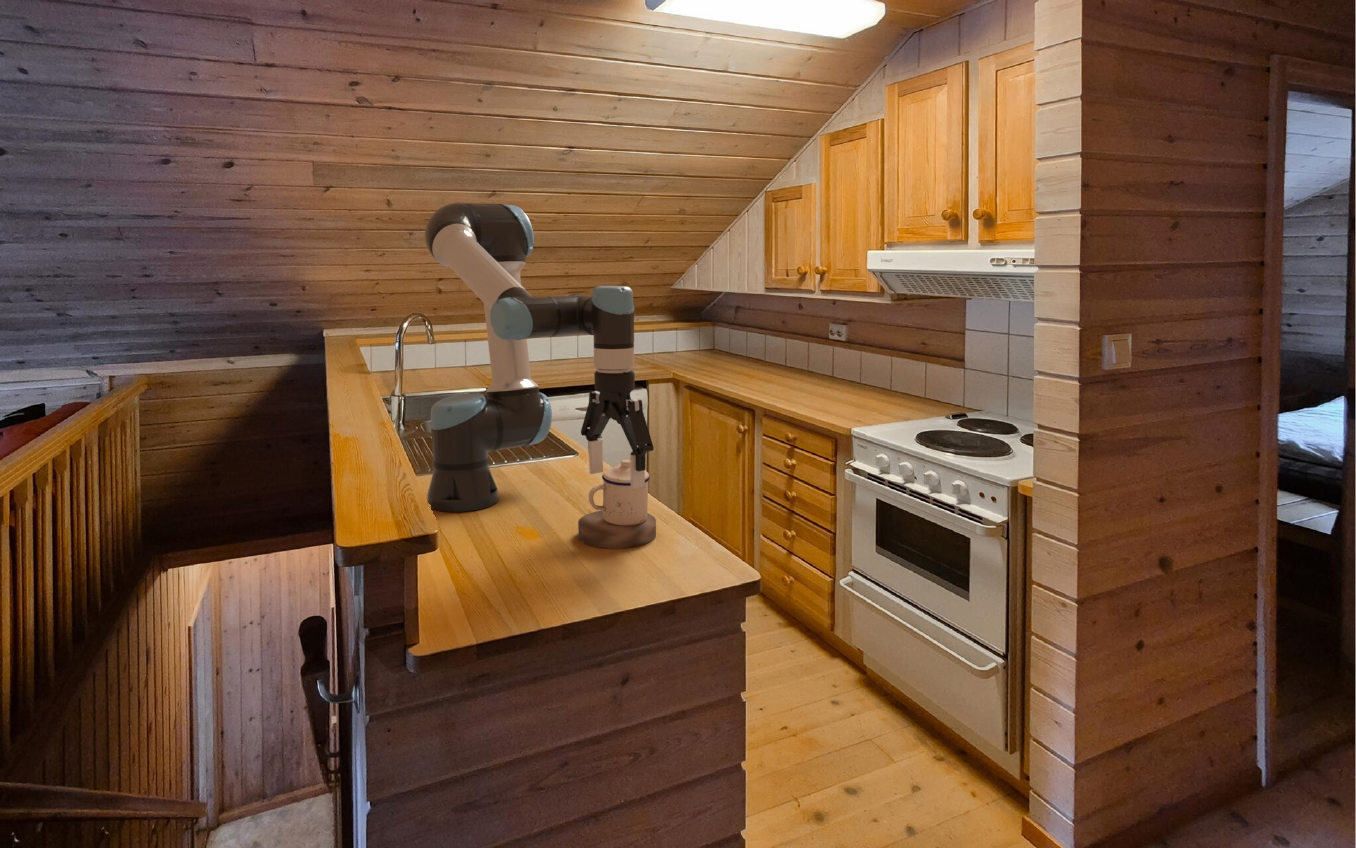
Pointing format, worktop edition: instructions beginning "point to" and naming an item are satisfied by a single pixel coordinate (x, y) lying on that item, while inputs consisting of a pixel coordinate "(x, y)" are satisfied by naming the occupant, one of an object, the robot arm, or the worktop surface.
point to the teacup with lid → (622, 497)
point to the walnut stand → (614, 532)
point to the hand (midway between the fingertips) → (616, 479)
